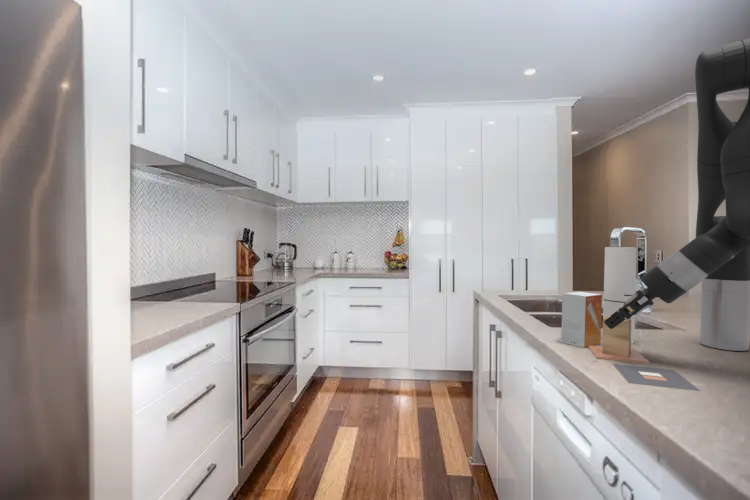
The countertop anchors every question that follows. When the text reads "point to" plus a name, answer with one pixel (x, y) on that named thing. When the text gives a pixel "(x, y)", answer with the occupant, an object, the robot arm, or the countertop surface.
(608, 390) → the countertop surface
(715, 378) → the countertop surface
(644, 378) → the mat
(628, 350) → the maple block
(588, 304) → the small box
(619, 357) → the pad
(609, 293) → the cylindrical container
